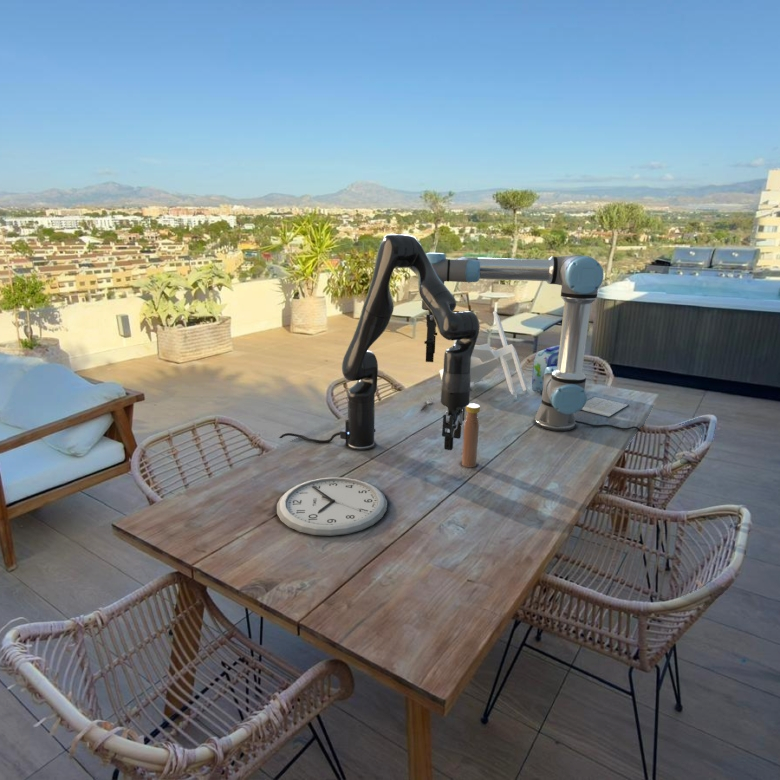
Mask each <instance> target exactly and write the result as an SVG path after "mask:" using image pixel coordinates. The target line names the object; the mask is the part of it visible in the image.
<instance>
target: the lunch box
mask: <svg viewBox="0 0 780 780" xmlns="http://www.w3.org/2000/svg"><path fill="white" fill-rule="evenodd" d="M559 346H560V344H559V345H553V346H550V347H546V348H545V349H542V350H539V351H538V352H537V353H536V354H535V356H534V358H533V365H532V376H531V377H532V378H531V390H532V391H533V392H537V393H542V392H543V382H544V373H545V369H546V368H547V367H553V366H557V364H558V355H559Z"/></svg>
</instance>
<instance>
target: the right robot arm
mask: <svg viewBox="0 0 780 780" xmlns="http://www.w3.org/2000/svg"><path fill="white" fill-rule="evenodd" d="M425 254H426V256H427V257H428V259H429V261H430V263H431V265H432V267H433V269H434V271H435V272H436V274H437V276H438V277H439V279H440V280H441V281H442V283H443V284H444V285H445V282H447V283H449V282H452V283H453V282H457V283H468V284H470V283H477V282H479V281H480V280H495V281H497V280H499V281H500V280H501V281H526V282H527V281H531V282H546V283H547V284H548V285H557V286H561V289H560V298H561V299H562V300H563V303H564V305H563V313H562V322H561V330H560V339H559V355H558V364H557V366H553V367H547V368H546V369H545V373H544V382H543V392H542V394H541V402H540V405H539V407H538V410H537V411H536V413H535V416H534V424H535V425H536V426H537V427H539V428H542V429H544V430H549V431H556V432H567V431H572V430H574V429H575V428H576V423H577V424H580V425H581V424H582V425H585V426H589V427H596V428H598V427H599V428H600V427H608V428H613V429H618V430H623V431H628V430H633V429H636V430H638V431H641V429H640V428H639V427H638V426H635V425H634V426H628V427H620V426H617V425H614V424H603V423H601V424H593V423H588V422H584V421H579V420H576V418H575V417H576V416H575V414H576V413H579V412H580V411H582V410H581V409H582V408H583V407H584V406H585V404H586V401H588V397H587V392H586V389H585V388H586V383H587V382H586V381H587V375H586V374H585V373H584V371H583V369H584V361H585V355H586V347H587V339H588V338H587V337H588V330H589V324H590V318H591V317H590V316H591V308H592V303H593V302H594V301H596V300H597V298H598V294H599V293H598V291H599V288H601V285H602V284H603V281H604V269H603V267H602V265H601V264H600V262H599V261H597V260H596V259H595V258H594V257H592V256H587V255H581V254H574V255H573V254H572V255H565V256H551V257H549V258H548V259H545V258H544V259H543V258H542V259H541V258H540V259H539V258H501V257H500V258H497V257H496V258H495V257H494V258H492V257H466V256H460V257H457V258H455V259H451V258H449V259H448V258H447V257H446V253H444V252H427V253H426V252H425ZM421 309H422V310H423V311H428V313H426V316H425V320H426V340H424V342H423V343H424V344H425V362H426V363H434V359H435V357H434V356H435V353H436V338H437V337H436V336H438V332H437V329H436V328H437V325H436V322H435V319H434V316H433V313H432V312H431V311H430V309H429V308H428V307H427V305H426V304H425V303H424V301H423V300H422V299H421Z"/></svg>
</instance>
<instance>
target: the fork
mask: <svg viewBox="0 0 780 780" xmlns="http://www.w3.org/2000/svg"><path fill="white" fill-rule="evenodd" d="M434 399H435V396H429V397H428V398H427V399H426V403H425V404H424V405H423V406H422V407H421V409H420V411H423V410H424V409H426V408H427V407H428V405H430V404H433V402H434Z"/></svg>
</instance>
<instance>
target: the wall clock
mask: <svg viewBox="0 0 780 780" xmlns="http://www.w3.org/2000/svg"><path fill="white" fill-rule="evenodd" d="M387 509H388V500H387V498H386V496H385V494H384V493H383V492H382V491H381V490H380V489H379V488H377V487H376V486H374V485H372V484H371V483H369V482H365V481H362V480H359V479H355V478H349V477H338V476H337V477H335V476H333V477H332V476H331V477H322V478H317V479H312V480H307V481H305V482H302V483H299V484H297V485H295V486H293V487H292V488H290V489H288V490H287V491H286V492H285V493H284V494H283V495H281V496H280V498H279V499H278V502H277V503H276V515H277V517H278V518H279V520H280V521H281V522H282V523H283V524H285V525H286V526H287V527H288V528H290V529H293V530H295V531H297V532H299V533H303V534H308V535H312V536H327V537H328V536H329V537H331V536H332V537H333V536H342V535H350V534H352V533H356V532H361V531H363V530H366V529H368V528H369V527H372V526H373V525H375V524H376V523H378V522H379V521H380V520H381V519H382V518H383V517H384V516H385V514H386V512H387Z"/></svg>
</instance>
